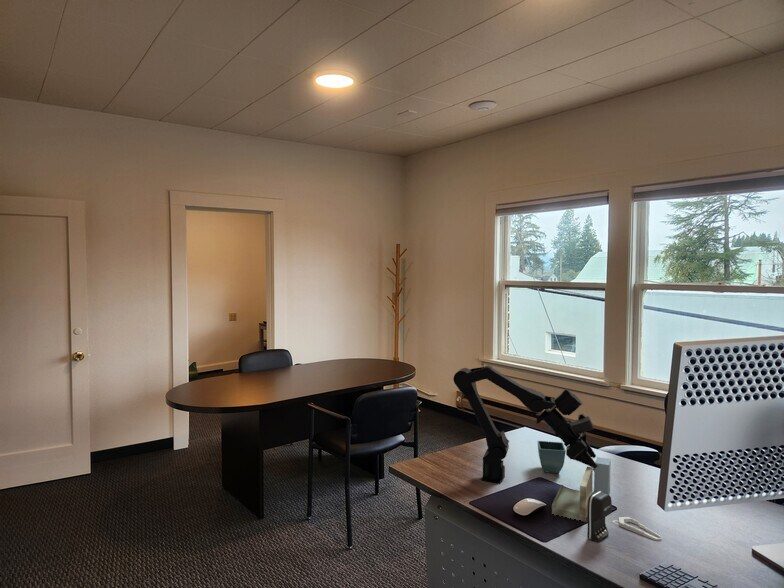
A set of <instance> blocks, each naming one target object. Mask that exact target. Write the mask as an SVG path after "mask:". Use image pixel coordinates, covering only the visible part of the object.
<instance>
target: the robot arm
mask: <svg viewBox="0 0 784 588" xmlns="http://www.w3.org/2000/svg"><path fill="white" fill-rule="evenodd" d="M483 380H487V381H489V382H491V383H493V384H494V385H496V386H497V387H499V388H500V389H502V390H504V391H506V392H507V393H509V394H510V395H512V396H514V397H515V398H517V399H518V400H519V402H521V403H522V405H524V407H526V408H527V409H528V410H529V411H530V412H533V413H535V417H536V421H535V422H536V424H537V425H538V424H540V423H541V422H542V421H543V422H544V423H545V424H546V425H547V426H548V428H549V429H550V430H551V431H553V433H554V436H555V437H556V438H557V437H558V438H559V439H560V440H561V441H562V443H563V445H564V447H566V448H565V450H566V452H565V456H566V457H568V458H569V460H573V461H576V462H579V463H582V464H584V465H586V466H587V467H593V468H596V467H597V465H596V463H595V462H596V461H595V460H594V459H595V458H597V455H596V453H595V452H594V450H593V448H592V447H591V445H590V444H589V442H588V441H587V433H586V432H588V431H589V432H590V431H593V430H594V429H595V428H594V424H593V421H592V419H591V417H590V416H588V415H587V416H586V415H585V414H584V413H580V414H578V415H577V416H578V418H577V419H576V420H575V421H571V420H570V419H567V418H565V417H564V416H571V415H572V414H573V413H574V412H575V411H576V410H578V409H579V408H580V407H581V406H582V405H583V402H582V401H581V400H580V398H579V397H578V396H577V395H576V394H575V393H573V392H572V391H570V390H569V389H568V388H565V389H564V390H562V391H561V393H560V394H559V395H558V396H557V397H553V396H549V395H545V394H544V393H542V392H541V391H538V390H536V389H533V388H529V387H527V386H523V385H522V384H520V383H518V382H516V381H515V380H513V379H512V378H510V377H508V376H507V375H505V374H503V373H501V372H500V371H499V370H497V369H495V368H493V366H491V365H485V366H479V367H474V368H467V367H462V368H460V369H458V370H457V372H455V374H454V376H453V383H454V385H455V386H456V388H457V389H458V390H459V391H460V393H462V395H464V396H465V398H466V399H467V401H468V403H469V405H470V408H471V409H472V411H473V414H474V416H475V418H476V419H477V421H478V424H479V426H480V427H481V429H482V431H483V433H484V437H485V441H486V447H487V449H486V450H485V451H484V455H483V457H482V476H481V478H480V480H481V481H485V482H491V483H496V484H501V483H502V481H503V480H504V479H505V478H506V477H505V476H506V475H505V474H506V467H505V465H504V459H505V458H506V457H507V454H508V452H509V449H510V445H509V443H510V440H509V439H508V438H507V436H506V433H505V431H504V430H502V431H501V432H500V431H499V430H498V429H497V427H496V425H495V424H494V422H493V420H492V417H491V416H490V414H489V411H488V410H487V407H486V406H485V403H484V402H483V399H482V398H481V395H480V393H479V392H478V388H477V383H476V382H479V381H483Z"/></svg>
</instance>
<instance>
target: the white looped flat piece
mask: <svg viewBox="0 0 784 588" xmlns="http://www.w3.org/2000/svg"><path fill="white" fill-rule="evenodd" d="M628 523H632V524H635V525H638V528H637V527H635V526H633V525H631V524H628ZM612 524H614V525H616V526H617V525H618V526H619V527H622V528H623V529H626V530H629V531H630V532H634V533H636V534H639V535H641V536H644V537H646V538H648V539H651V540H653V541H656V542H657V541H662V536H661V535H660V534H658V533H656V532H655V531H653V530H651V529H650V528H648V527H646V525H644V524H642V523H640V522H639V520H637V519H634V518H632V517H630V516H620V517H618V520H616V519H615V520H614V519H613V520H612ZM640 528H642V529H644V530H642V529H640Z"/></svg>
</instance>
